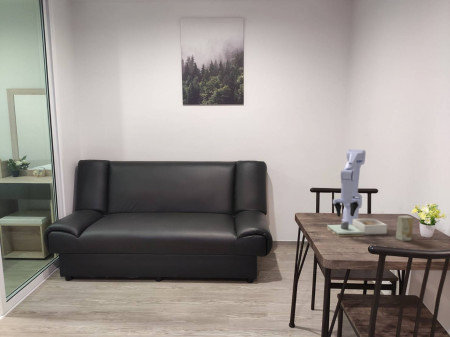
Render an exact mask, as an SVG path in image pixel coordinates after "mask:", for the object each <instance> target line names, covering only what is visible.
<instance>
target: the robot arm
mask: <svg viewBox="0 0 450 337" xmlns="http://www.w3.org/2000/svg"><path fill="white" fill-rule="evenodd" d="M346 159H347V162H346V163H345V165H344V168H343V169H342V170H341V171H340V183H341V186H340V187H341V189H340V198H337V199H336V198H335V199H332V204H333V206H334V208H335V211H336V215H337V217H339V218H340V217H341V211H342V210H343V211H342V219H340V220H341V221H347V222H349V225H350V224H351V225H352V223H353V219H359V212H360V209H361V208H362V206H363V196H362V195H361V194H360V193H359V183H360V182H359V180H360V171H361V167H362V165H364V164H365V163H366V150H365V149H351V148H349V149H347V152H346ZM342 204H343V206H344V208H343V209H342Z"/></svg>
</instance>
